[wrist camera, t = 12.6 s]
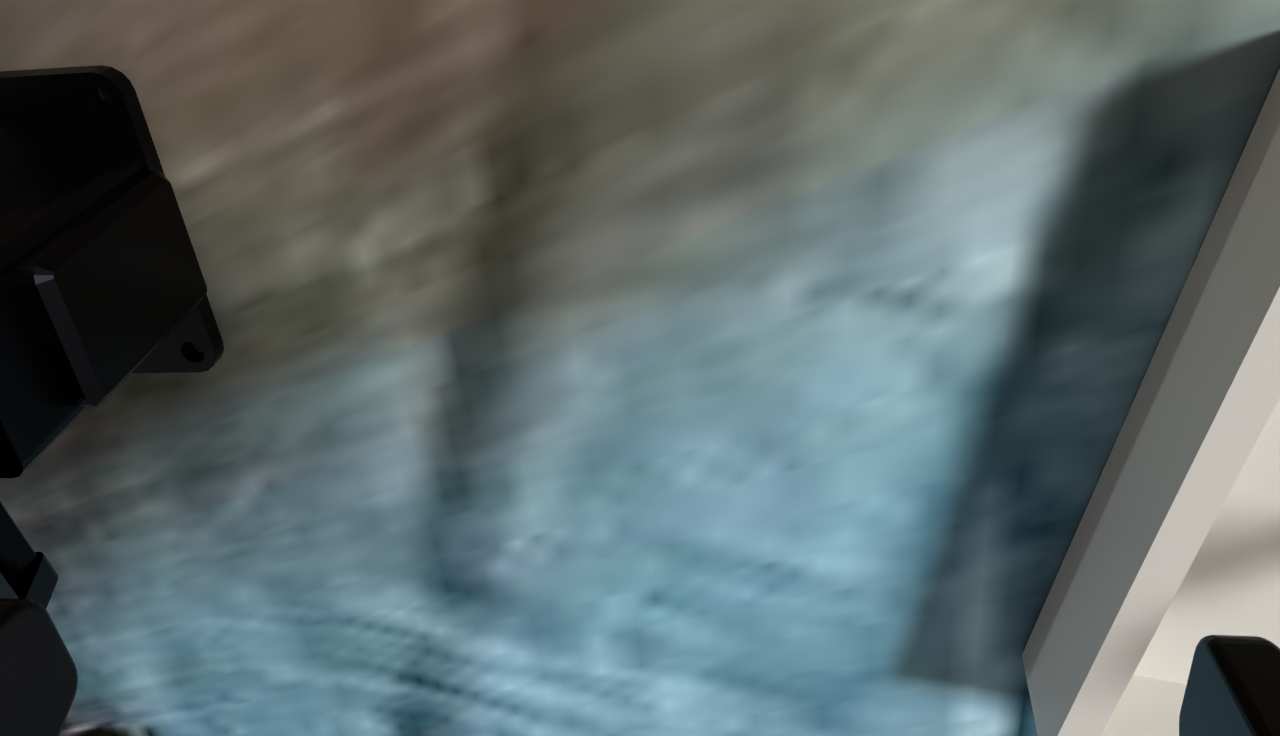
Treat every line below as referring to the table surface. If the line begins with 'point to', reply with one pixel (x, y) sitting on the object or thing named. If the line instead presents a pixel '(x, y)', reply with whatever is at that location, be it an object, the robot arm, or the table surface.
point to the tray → (1180, 489)
